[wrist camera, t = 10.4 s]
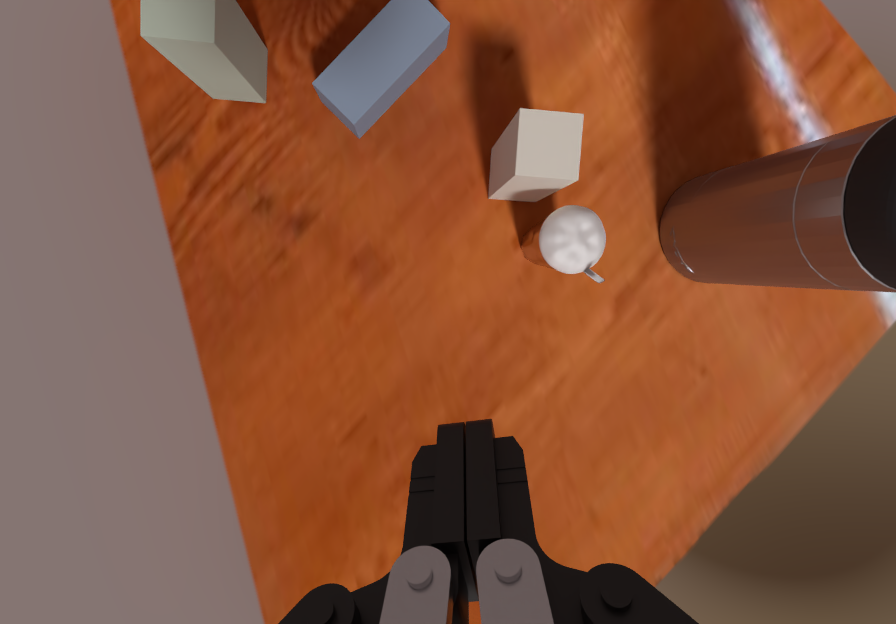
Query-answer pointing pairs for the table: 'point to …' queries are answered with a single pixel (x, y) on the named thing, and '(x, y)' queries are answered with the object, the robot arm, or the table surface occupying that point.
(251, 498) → the table surface
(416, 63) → the slate blue block
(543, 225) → the milkshake
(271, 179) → the table surface
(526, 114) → the cream block
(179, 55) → the sage block
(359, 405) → the table surface
